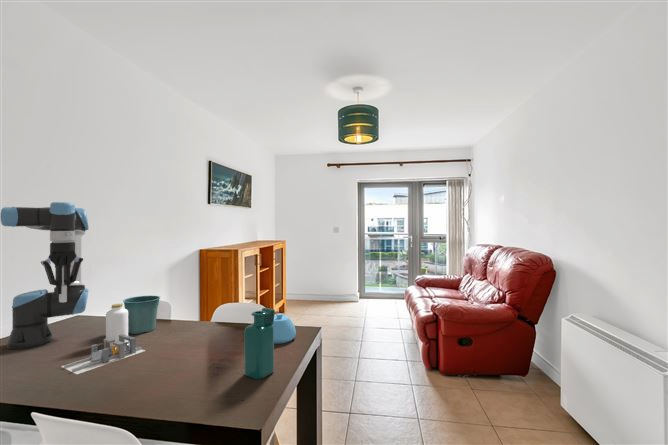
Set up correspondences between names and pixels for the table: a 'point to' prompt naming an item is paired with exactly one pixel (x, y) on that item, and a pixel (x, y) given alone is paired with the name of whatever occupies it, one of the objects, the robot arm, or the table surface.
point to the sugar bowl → (283, 329)
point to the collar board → (105, 354)
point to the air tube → (112, 351)
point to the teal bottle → (259, 345)
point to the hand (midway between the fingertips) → (62, 301)
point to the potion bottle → (116, 322)
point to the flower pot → (141, 313)
